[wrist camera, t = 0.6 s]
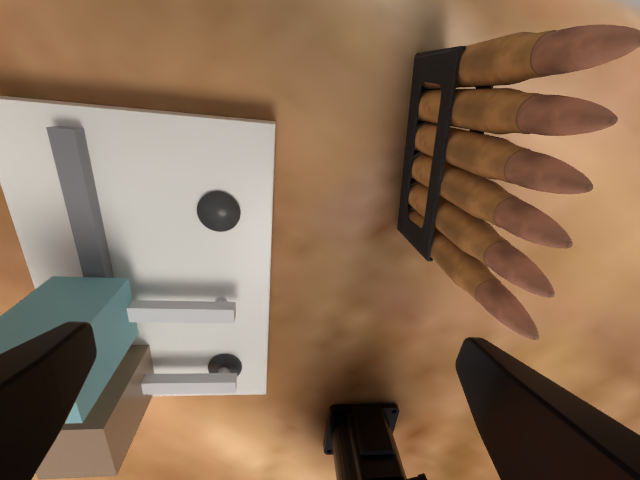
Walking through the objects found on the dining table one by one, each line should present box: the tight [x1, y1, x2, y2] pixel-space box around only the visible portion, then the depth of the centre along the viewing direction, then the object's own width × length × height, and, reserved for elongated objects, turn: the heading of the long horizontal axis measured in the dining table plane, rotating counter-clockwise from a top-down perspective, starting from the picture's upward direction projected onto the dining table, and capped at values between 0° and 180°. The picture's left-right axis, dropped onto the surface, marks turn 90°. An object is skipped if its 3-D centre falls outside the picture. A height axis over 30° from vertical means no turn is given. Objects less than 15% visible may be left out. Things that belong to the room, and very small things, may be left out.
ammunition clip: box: [397, 25, 640, 340], centre depth 14 cm, size 11×2×12 cm, turn 1°
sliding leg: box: [0, 276, 236, 424], centre depth 17 cm, size 4×10×7 cm, turn 85°
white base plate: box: [0, 96, 276, 479], centre depth 18 cm, size 20×14×8 cm
